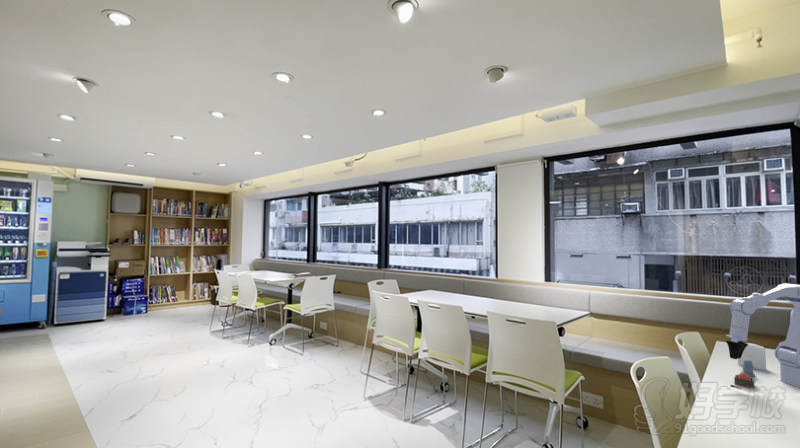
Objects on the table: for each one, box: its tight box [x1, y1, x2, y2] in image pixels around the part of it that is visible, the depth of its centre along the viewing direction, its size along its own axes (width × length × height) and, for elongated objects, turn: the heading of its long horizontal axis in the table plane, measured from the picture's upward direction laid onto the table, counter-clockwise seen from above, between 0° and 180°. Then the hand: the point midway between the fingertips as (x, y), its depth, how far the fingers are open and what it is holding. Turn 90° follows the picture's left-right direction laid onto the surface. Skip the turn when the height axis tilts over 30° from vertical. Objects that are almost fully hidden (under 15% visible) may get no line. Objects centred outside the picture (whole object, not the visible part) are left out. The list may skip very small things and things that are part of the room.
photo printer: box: [737, 342, 767, 371], centre depth 185 cm, size 10×4×12 cm, turn 39°
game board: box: [730, 374, 758, 390], centre depth 165 cm, size 26×8×4 cm, turn 133°
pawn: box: [740, 360, 756, 378], centre depth 171 cm, size 5×5×7 cm
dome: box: [738, 372, 752, 381], centre depth 158 cm, size 4×4×4 cm
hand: (735, 358), depth 163 cm, fingers open, 7 cm apart
